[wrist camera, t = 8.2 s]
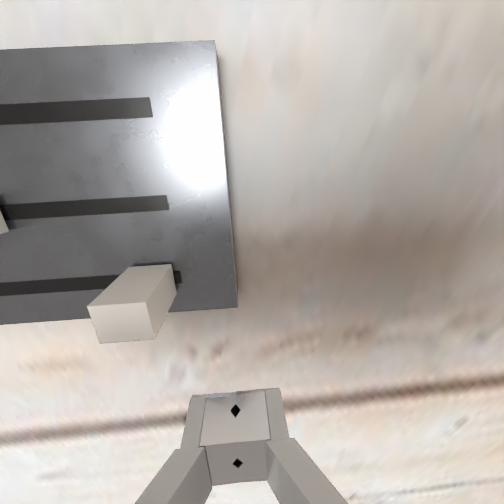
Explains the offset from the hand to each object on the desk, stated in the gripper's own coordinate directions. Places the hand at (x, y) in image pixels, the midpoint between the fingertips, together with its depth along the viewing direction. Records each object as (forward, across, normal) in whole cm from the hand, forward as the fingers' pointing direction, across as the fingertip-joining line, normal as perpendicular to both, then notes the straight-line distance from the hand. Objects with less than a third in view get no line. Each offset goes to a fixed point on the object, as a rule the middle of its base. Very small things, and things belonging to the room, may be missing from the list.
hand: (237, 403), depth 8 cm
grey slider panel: (+12, +11, -6) cm, 18 cm away
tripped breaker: (+10, +6, 0) cm, 12 cm away
